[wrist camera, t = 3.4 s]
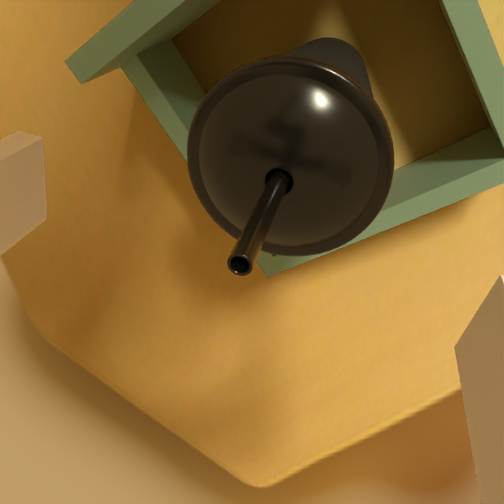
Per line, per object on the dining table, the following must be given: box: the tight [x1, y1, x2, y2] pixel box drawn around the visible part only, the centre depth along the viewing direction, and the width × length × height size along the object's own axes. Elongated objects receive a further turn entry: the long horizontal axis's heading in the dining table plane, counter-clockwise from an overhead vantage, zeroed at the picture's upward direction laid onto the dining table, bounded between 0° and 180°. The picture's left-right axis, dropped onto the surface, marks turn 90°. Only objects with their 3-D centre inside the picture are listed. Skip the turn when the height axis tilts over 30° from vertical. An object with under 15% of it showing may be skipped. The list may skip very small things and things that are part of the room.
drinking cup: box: [187, 38, 394, 276], centre depth 20 cm, size 8×8×20 cm
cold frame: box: [64, 0, 504, 277], centre depth 25 cm, size 16×16×9 cm
